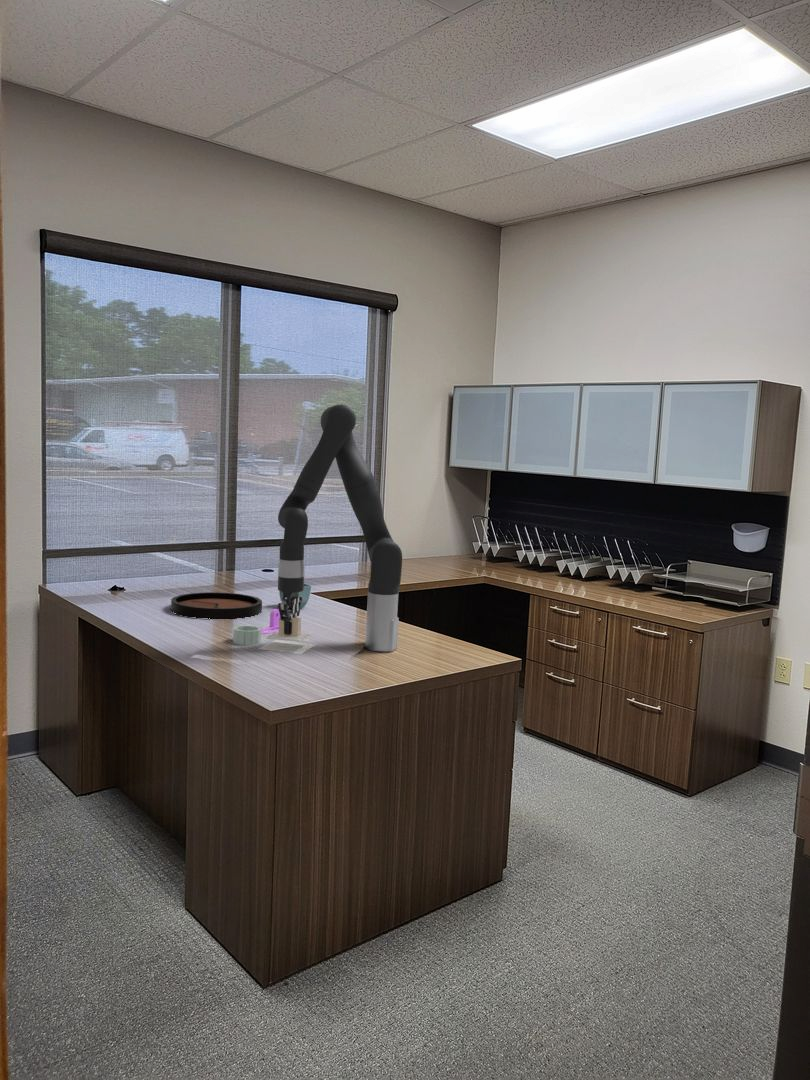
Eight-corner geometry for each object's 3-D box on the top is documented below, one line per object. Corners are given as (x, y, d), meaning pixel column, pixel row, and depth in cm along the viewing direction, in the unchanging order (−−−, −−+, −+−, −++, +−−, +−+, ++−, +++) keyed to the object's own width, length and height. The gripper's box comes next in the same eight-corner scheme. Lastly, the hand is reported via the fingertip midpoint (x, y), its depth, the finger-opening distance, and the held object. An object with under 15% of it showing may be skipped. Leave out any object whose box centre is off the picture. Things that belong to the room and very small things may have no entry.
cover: (311, 634, 252) (312, 616, 251) (299, 641, 242) (299, 622, 242) (280, 631, 254) (280, 613, 254) (266, 638, 245) (267, 619, 244)
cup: (264, 643, 255) (265, 627, 254) (253, 649, 247) (254, 632, 247) (240, 640, 257) (240, 624, 256) (228, 646, 249) (228, 629, 249)
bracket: (276, 629, 277) (277, 608, 276) (290, 631, 274) (291, 610, 273) (251, 635, 265) (252, 613, 264) (265, 638, 262) (266, 616, 262)
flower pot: (310, 609, 312) (312, 585, 311) (292, 611, 306) (293, 587, 305) (295, 605, 318) (296, 581, 317) (277, 607, 312) (278, 583, 311)
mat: (316, 647, 254) (316, 644, 254) (300, 657, 241) (300, 653, 241) (275, 642, 257) (275, 639, 257) (257, 652, 244) (257, 648, 244)
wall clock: (280, 603, 301) (204, 612, 278) (279, 614, 301) (204, 624, 278) (227, 589, 322) (153, 596, 299) (227, 600, 322) (153, 608, 299)
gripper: (294, 579, 239) (292, 639, 241) (311, 572, 252) (310, 629, 254) (269, 577, 241) (268, 637, 242) (288, 570, 254) (286, 627, 256)
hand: (289, 632), depth 248 cm, fingers closed on cover, 2 cm apart
